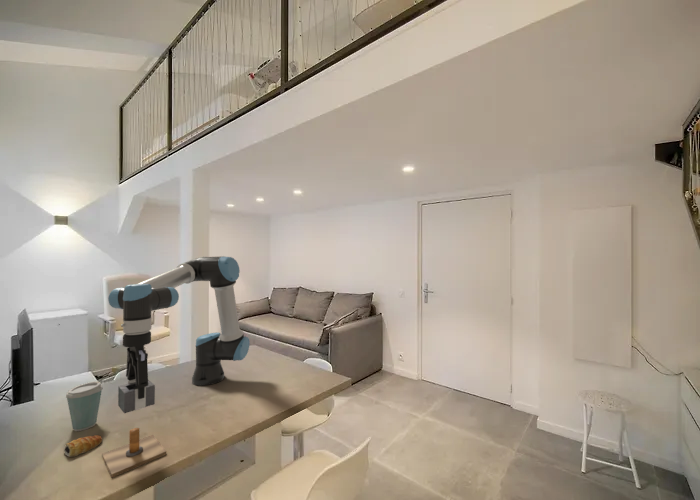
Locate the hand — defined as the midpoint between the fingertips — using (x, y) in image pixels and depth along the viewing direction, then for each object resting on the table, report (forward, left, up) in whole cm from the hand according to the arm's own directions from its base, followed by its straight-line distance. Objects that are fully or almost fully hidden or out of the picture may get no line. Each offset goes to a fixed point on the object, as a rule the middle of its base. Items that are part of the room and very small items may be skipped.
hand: (136, 404), depth 99 cm
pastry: (-17, -11, -16) cm, 26 cm away
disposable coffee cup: (-35, -9, -16) cm, 39 cm away
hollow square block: (0, 0, 0) cm, 0 cm away
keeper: (0, 0, -16) cm, 16 cm away
